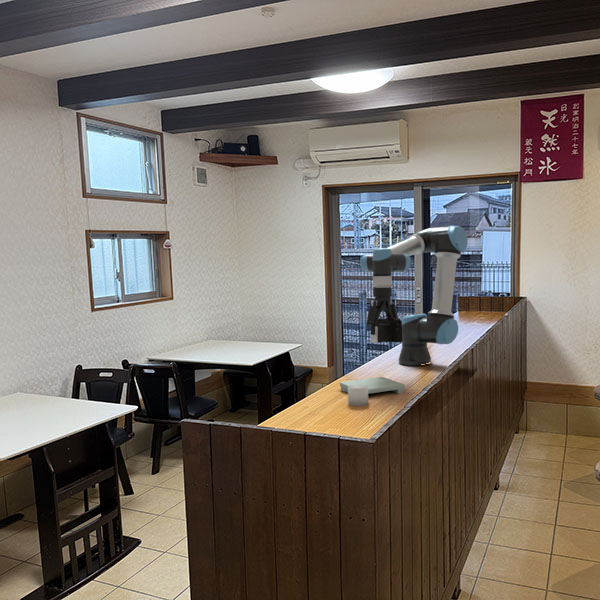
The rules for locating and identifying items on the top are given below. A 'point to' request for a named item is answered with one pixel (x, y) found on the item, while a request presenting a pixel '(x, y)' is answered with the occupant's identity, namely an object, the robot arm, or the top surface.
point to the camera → (389, 330)
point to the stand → (375, 385)
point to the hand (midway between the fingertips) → (383, 341)
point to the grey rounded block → (358, 395)
